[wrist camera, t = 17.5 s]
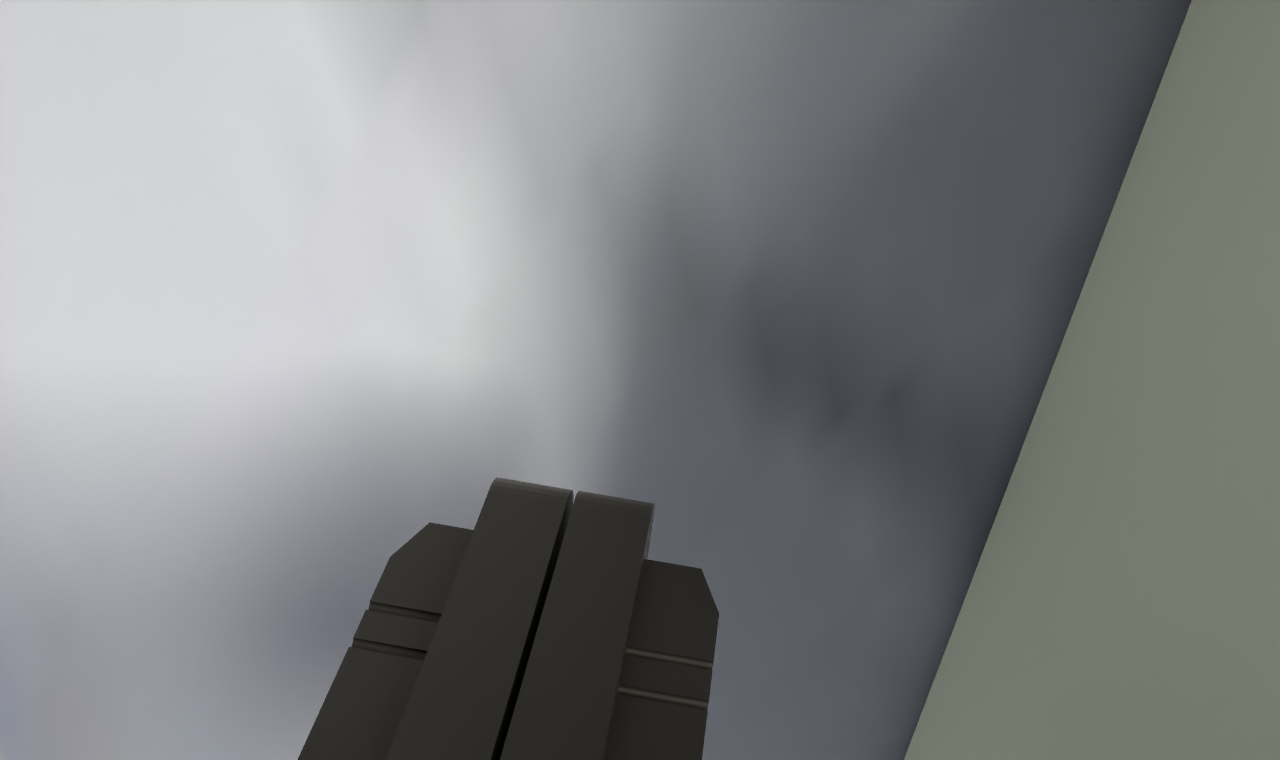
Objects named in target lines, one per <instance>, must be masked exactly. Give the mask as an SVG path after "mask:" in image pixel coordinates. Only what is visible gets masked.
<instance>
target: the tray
mask: <svg viewBox="0 0 1280 760" xmlns="http://www.w3.org/2000/svg"><path fill="white" fill-rule="evenodd" d="M904 760H1280V0H1192V1H1191V4H1190V6H1189V9H1188V12H1187V14H1186V17H1185V20H1184V22H1183V25H1182V28H1181V30H1180V33H1179V35H1178V38H1177V41H1176V43H1175V46H1174V49H1173V51H1172V54H1171V57H1170V59H1169V62H1168V64H1167V67H1166V70H1165V72H1164V75H1163V78H1162V80H1161V83H1160V86H1159V88H1158V91H1157V93H1156V96H1155V99H1154V101H1153V104H1152V107H1151V109H1150V112H1149V115H1148V117H1147V120H1146V122H1145V125H1144V128H1143V130H1142V133H1141V136H1140V138H1139V141H1138V144H1137V146H1136V149H1135V151H1134V154H1133V157H1132V159H1131V162H1130V165H1129V167H1128V170H1127V173H1126V175H1125V178H1124V180H1123V183H1122V186H1121V188H1120V191H1119V194H1118V196H1117V199H1116V202H1115V204H1114V207H1113V209H1112V212H1111V215H1110V217H1109V220H1108V223H1107V225H1106V228H1105V231H1104V233H1103V236H1102V238H1101V241H1100V244H1099V246H1098V249H1097V252H1096V254H1095V257H1094V260H1093V262H1092V265H1091V267H1090V270H1089V273H1088V275H1087V278H1086V281H1085V283H1084V286H1083V289H1082V291H1081V294H1080V296H1079V299H1078V302H1077V304H1076V307H1075V310H1074V312H1073V315H1072V318H1071V320H1070V323H1069V325H1068V328H1067V331H1066V333H1065V336H1064V339H1063V341H1062V344H1061V347H1060V349H1059V352H1058V354H1057V357H1056V360H1055V362H1054V365H1053V368H1052V370H1051V373H1050V376H1049V378H1048V381H1047V383H1046V386H1045V389H1044V391H1043V394H1042V397H1041V399H1040V402H1039V405H1038V407H1037V410H1036V412H1035V415H1034V418H1033V420H1032V423H1031V426H1030V428H1029V431H1028V434H1027V436H1026V439H1025V441H1024V444H1023V447H1022V449H1021V452H1020V455H1019V457H1018V460H1017V463H1016V465H1015V468H1014V470H1013V473H1012V476H1011V478H1010V481H1009V484H1008V486H1007V489H1006V492H1005V494H1004V497H1003V499H1002V502H1001V505H1000V507H999V510H998V513H997V515H996V518H995V521H994V523H993V526H992V528H991V531H990V534H989V536H988V539H987V542H986V544H985V547H984V550H983V552H982V555H981V557H980V560H979V563H978V565H977V568H976V571H975V573H974V576H973V579H972V581H971V584H970V586H969V589H968V592H967V594H966V597H965V600H964V602H963V605H962V608H961V610H960V613H959V615H958V618H957V621H956V623H955V626H954V629H953V631H952V634H951V637H950V639H949V642H948V644H947V647H946V650H945V652H944V655H943V658H942V660H941V663H940V666H939V668H938V671H937V673H936V676H935V679H934V681H933V684H932V687H931V689H930V692H929V695H928V697H927V700H926V702H925V705H924V708H923V710H922V713H921V716H920V718H919V721H918V724H917V726H916V729H915V731H914V734H913V737H912V739H911V742H910V745H909V747H908V750H907V753H906V755H905V758H904Z"/></svg>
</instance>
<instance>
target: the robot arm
mask: <svg viewBox="0 0 1280 760" xmlns="http://www.w3.org/2000/svg"><path fill="white" fill-rule="evenodd" d="M653 514H654V504H653V503H647V502H641V501H635V500H629V499H623V498H617V497H611V496H605V495H599V494H593V493H588V492H582V491H579V492H578V493H577V495H576V498H575V501H574V504H573V491H572V490H568V489H562V488H556V487H550V486H544V485H538V484H532V483H526V482H520V481H514V480H508V479H503V478H496V479H495V480H494V481H493V483H492V485H491V487H490V490H489V492H488V495H487V497H486V500H485V503H484V505H483V508H482V510H481V513H480V516H479V518H478V521H477V523H476V526H475V529H474V530H470V529H464V528H458V527H452V526H446V525H441V524H435V523H429V524H428V525H426V526H425V527H424V528H423V529H422V530H421V531H420V532H418V533H417V534H416V535H415V536H414V537H413V538H412V539H410V540H409V541H408V542H407V543H406V544H405V545H404V546H402V547H401V548H400V549H399V550H398V551H397V552H395V553H394V554H393V555H392V556H391V557H390V559H389V561H388V563H387V565H386V567H385V570H384V572H383V574H382V576H381V578H380V581H379V583H378V585H377V587H376V589H375V591H374V594H373V596H372V598H371V600H370V606H369V609H368V610H366V611H365V613H364V616H363V618H362V620H361V622H360V624H359V627H358V629H357V631H356V633H355V635H354V637H353V644H352V647H349V648H348V651H347V653H346V655H345V657H344V659H343V662H342V664H341V666H340V668H339V670H338V672H337V675H336V677H335V679H334V681H333V683H332V686H331V688H330V690H329V692H328V694H327V697H326V699H325V701H324V703H323V705H322V708H321V710H320V712H319V714H318V716H317V718H316V721H315V723H314V725H313V727H312V729H311V732H310V734H309V736H308V738H307V740H306V743H305V745H304V747H303V749H302V751H301V753H300V756H299V758H298V760H702V753H703V744H704V736H705V728H706V719H707V708H708V702H709V694H710V685H711V677H712V666H713V660H714V652H715V643H716V635H717V626H718V618H719V612H718V610H717V607H716V605H715V602H714V600H713V597H712V595H711V592H710V590H709V587H708V585H707V582H706V580H705V577H704V575H703V572H702V570H701V569H699V568H693V567H688V566H682V565H676V564H670V563H664V562H658V561H653V560H647V557H648V550H649V543H650V536H651V529H652V522H653Z"/></svg>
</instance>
